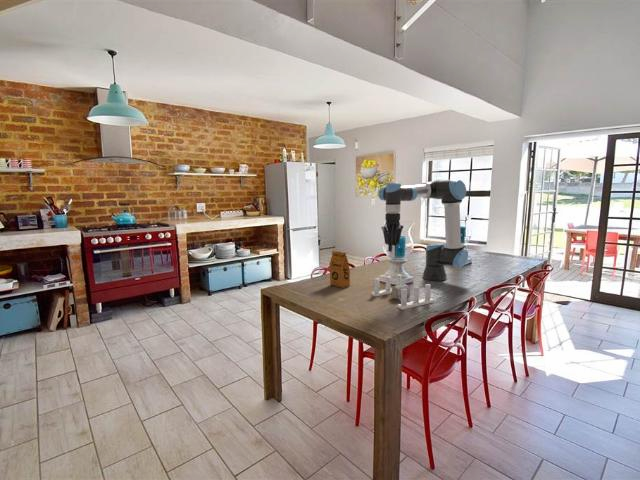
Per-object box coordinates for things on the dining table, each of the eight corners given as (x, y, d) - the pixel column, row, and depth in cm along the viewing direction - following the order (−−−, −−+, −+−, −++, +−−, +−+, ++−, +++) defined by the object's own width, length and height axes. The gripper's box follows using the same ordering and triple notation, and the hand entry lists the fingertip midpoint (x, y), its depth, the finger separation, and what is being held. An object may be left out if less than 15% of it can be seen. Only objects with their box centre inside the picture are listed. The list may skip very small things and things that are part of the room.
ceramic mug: (390, 297, 183) (390, 283, 182) (403, 295, 185) (403, 282, 184) (399, 303, 173) (400, 289, 171) (413, 301, 175) (413, 288, 173)
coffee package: (341, 289, 199) (340, 254, 195) (327, 285, 208) (327, 251, 205) (352, 286, 205) (352, 251, 202) (339, 282, 214) (338, 249, 211)
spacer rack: (400, 289, 196) (400, 273, 195) (433, 302, 173) (434, 285, 171) (371, 294, 187) (371, 278, 186) (402, 309, 164) (402, 291, 162)
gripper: (387, 213, 164) (386, 259, 167) (407, 212, 169) (406, 257, 173) (378, 212, 170) (377, 257, 174) (398, 212, 176) (396, 254, 179)
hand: (391, 257), depth 173 cm, fingers closed
